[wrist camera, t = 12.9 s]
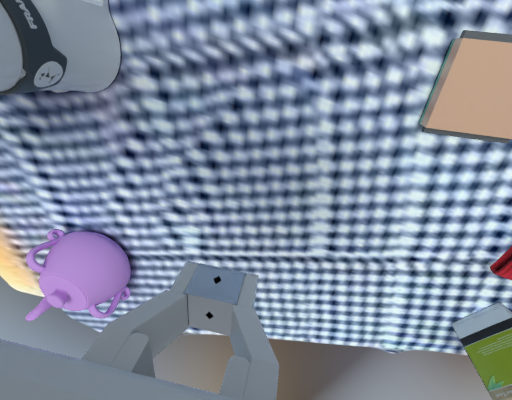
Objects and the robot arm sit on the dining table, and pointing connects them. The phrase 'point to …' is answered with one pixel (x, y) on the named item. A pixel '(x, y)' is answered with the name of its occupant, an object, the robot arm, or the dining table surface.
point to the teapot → (80, 273)
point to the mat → (480, 37)
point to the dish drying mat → (503, 265)
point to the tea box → (489, 347)
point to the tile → (473, 90)
